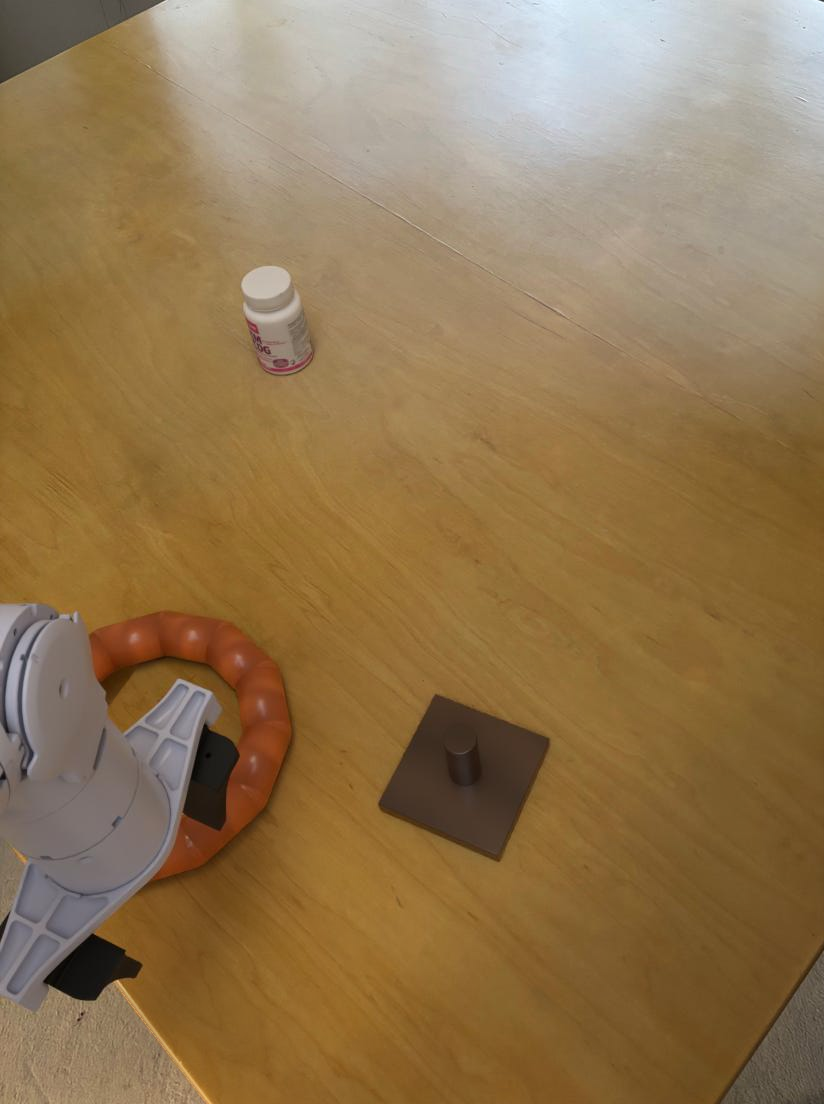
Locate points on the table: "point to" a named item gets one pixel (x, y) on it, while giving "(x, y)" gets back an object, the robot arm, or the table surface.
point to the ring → (256, 704)
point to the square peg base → (465, 776)
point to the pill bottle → (276, 320)
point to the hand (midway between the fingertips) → (166, 888)
